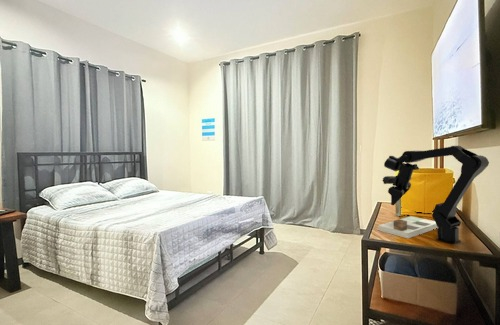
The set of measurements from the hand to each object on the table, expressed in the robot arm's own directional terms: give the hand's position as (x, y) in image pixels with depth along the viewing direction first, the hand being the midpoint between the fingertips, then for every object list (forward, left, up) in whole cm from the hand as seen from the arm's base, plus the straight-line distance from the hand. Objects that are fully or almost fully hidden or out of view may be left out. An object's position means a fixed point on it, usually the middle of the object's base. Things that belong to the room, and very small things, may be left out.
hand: (394, 202), depth 131 cm
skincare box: (+10, -23, -13) cm, 29 cm away
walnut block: (-8, +9, -10) cm, 16 cm away
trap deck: (-6, -3, -13) cm, 14 cm away
